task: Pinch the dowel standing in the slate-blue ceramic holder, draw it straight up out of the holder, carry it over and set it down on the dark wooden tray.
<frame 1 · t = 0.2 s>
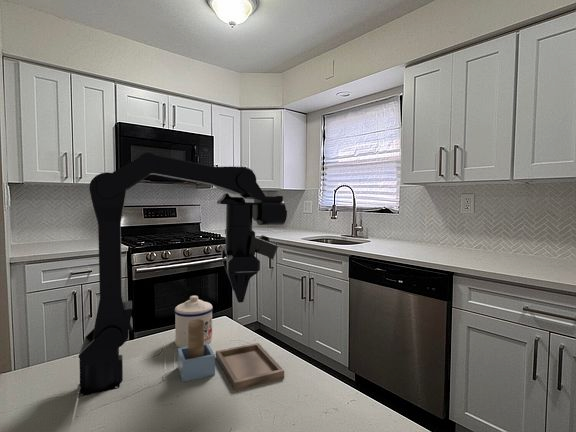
hand: (237, 296, 73), 14 cm above the countertop, tool pointing down, fingers open, 9 cm apart
holder cup: (196, 373, 67), on the countertop
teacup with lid: (195, 341, 82), on the countertop
tray: (247, 369, 68), on the countertop
dowel pin: (196, 370, 67), point 1 cm above the countertop, touching holder cup
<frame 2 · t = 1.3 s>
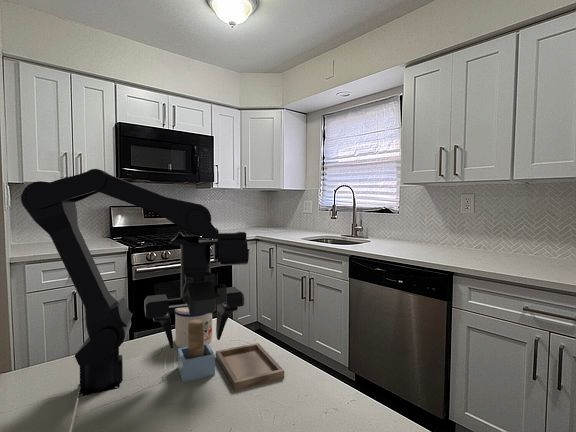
hand: (195, 343, 66), 6 cm above the countertop, tool pointing down, fingers open, 9 cm apart
nothing on the countertop moved.
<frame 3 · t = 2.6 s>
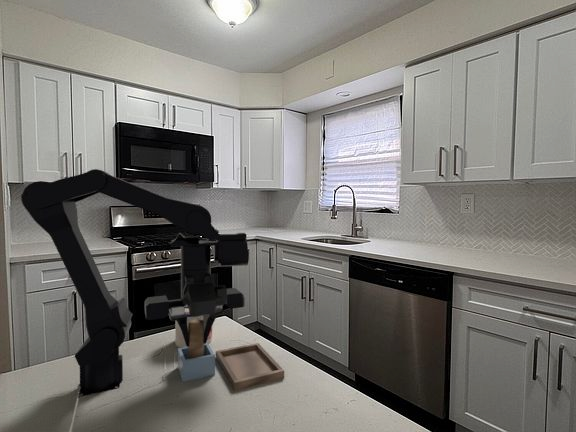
hand: (196, 344, 66), 6 cm above the countertop, tool pointing down, fingers closed on dowel pin, 3 cm apart
dowel pin: (196, 370, 67), point 1 cm above the countertop, touching gripper, holder cup
everything else where it was.
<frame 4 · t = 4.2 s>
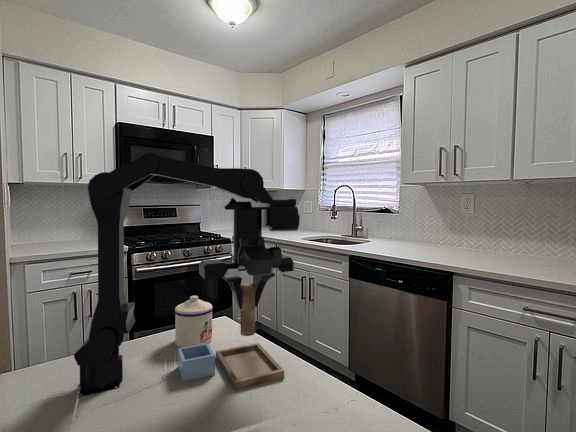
hand: (247, 307, 68), 13 cm above the countertop, tool pointing down, fingers closed on dowel pin, 3 cm apart
dowel pin: (247, 333, 68), point 8 cm above the countertop, touching gripper
everything else where it was.
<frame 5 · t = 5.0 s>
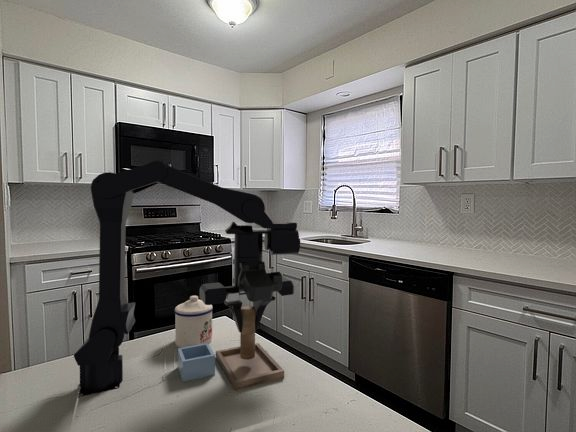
hand: (247, 330, 68), 8 cm above the countertop, tool pointing down, fingers closed on dowel pin, 3 cm apart
dowel pin: (247, 356, 68), point 3 cm above the countertop, touching gripper
everything else where it was.
when the fingers open (7 cm above the countertop, at t = 5.8 s): dowel pin drops 1 cm, resting on tray.
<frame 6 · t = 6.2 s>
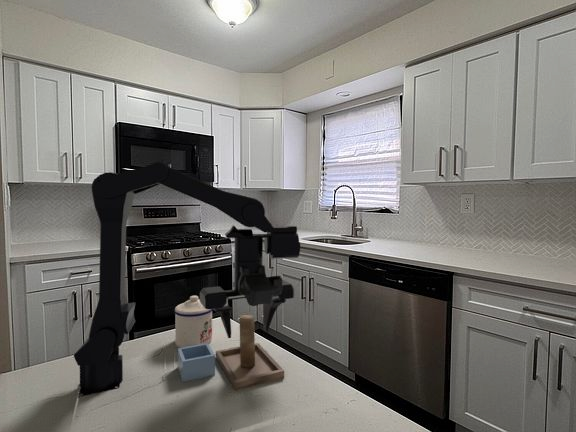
hand: (248, 334, 68), 7 cm above the countertop, tool pointing down, fingers open, 8 cm apart
dowel pin: (247, 364, 68), point 1 cm above the countertop, touching tray
everything else where it was.
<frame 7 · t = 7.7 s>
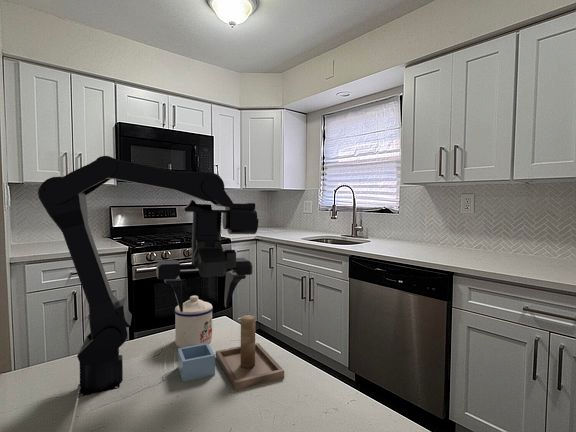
hand: (204, 309, 68), 12 cm above the countertop, tool pointing down, fingers open, 9 cm apart
nothing on the countertop moved.
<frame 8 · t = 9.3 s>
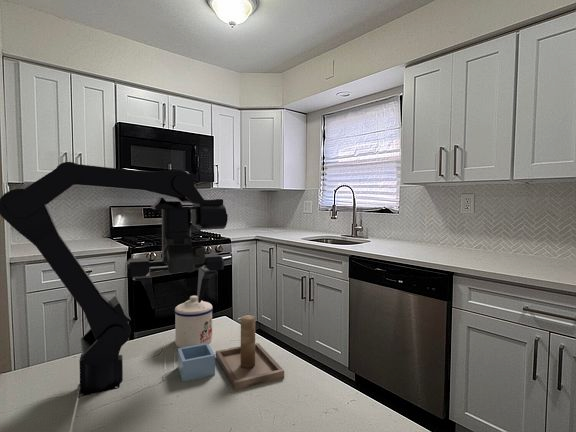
hand: (176, 305, 69), 13 cm above the countertop, tool pointing down, fingers open, 9 cm apart
nothing on the countertop moved.
at the end: dowel pin inside the target area on the tray (0.0 cm from its centre), point 1.0 cm above the tray's base; dowel pin touching tray; the gripper is holding nothing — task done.
